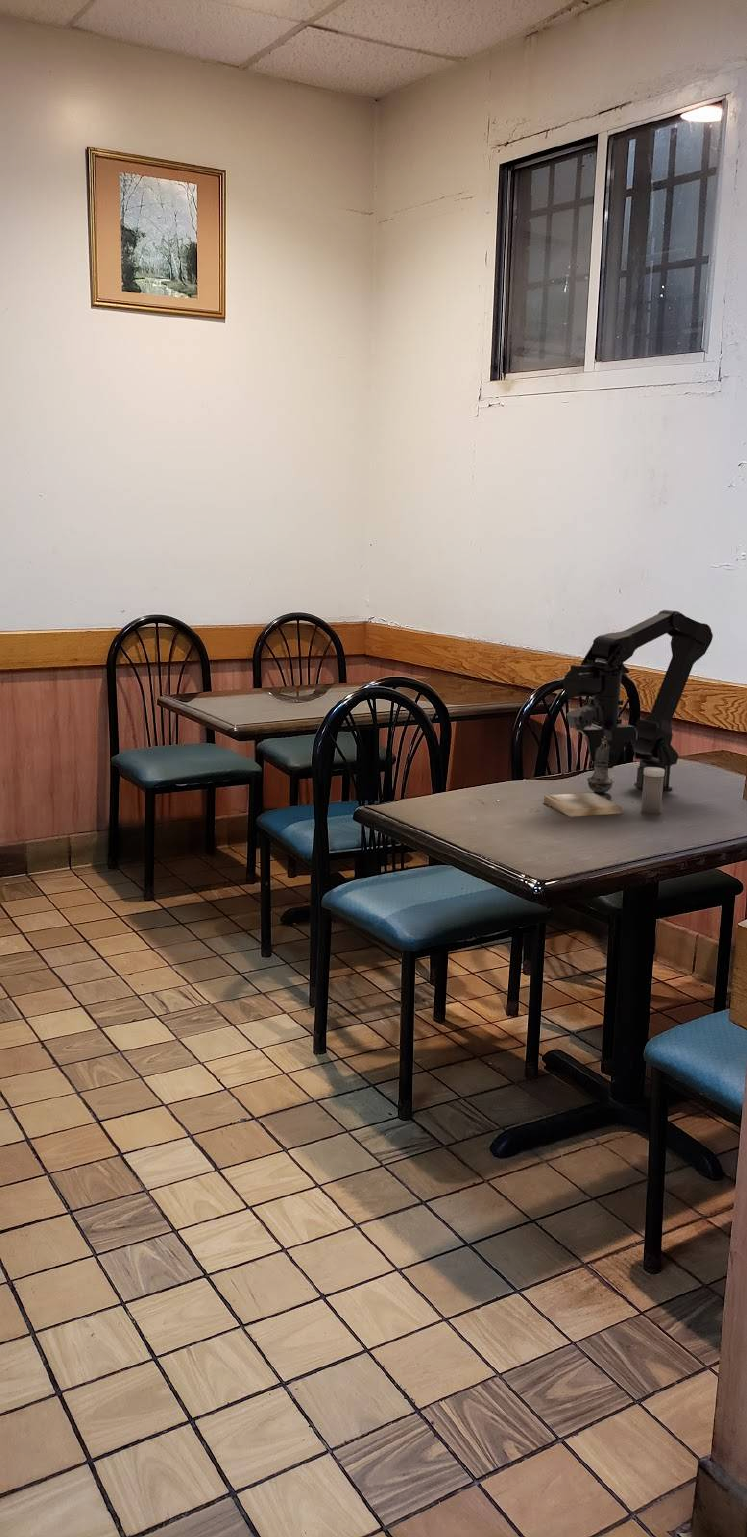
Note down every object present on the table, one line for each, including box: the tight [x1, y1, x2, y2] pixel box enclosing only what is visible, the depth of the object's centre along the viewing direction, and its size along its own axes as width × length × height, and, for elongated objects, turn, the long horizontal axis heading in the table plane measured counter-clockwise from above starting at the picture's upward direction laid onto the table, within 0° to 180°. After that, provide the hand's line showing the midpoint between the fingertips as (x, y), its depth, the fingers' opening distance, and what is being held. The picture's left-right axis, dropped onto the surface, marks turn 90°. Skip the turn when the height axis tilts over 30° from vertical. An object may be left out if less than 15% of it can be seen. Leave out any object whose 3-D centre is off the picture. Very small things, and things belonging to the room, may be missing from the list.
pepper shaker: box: [640, 767, 665, 815], centre depth 248 cm, size 4×4×9 cm
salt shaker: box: [586, 742, 615, 800], centre depth 261 cm, size 6×6×12 cm
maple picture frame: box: [543, 792, 623, 817], centre depth 251 cm, size 12×12×2 cm
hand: (601, 764), depth 261 cm, fingers open, 7 cm apart
